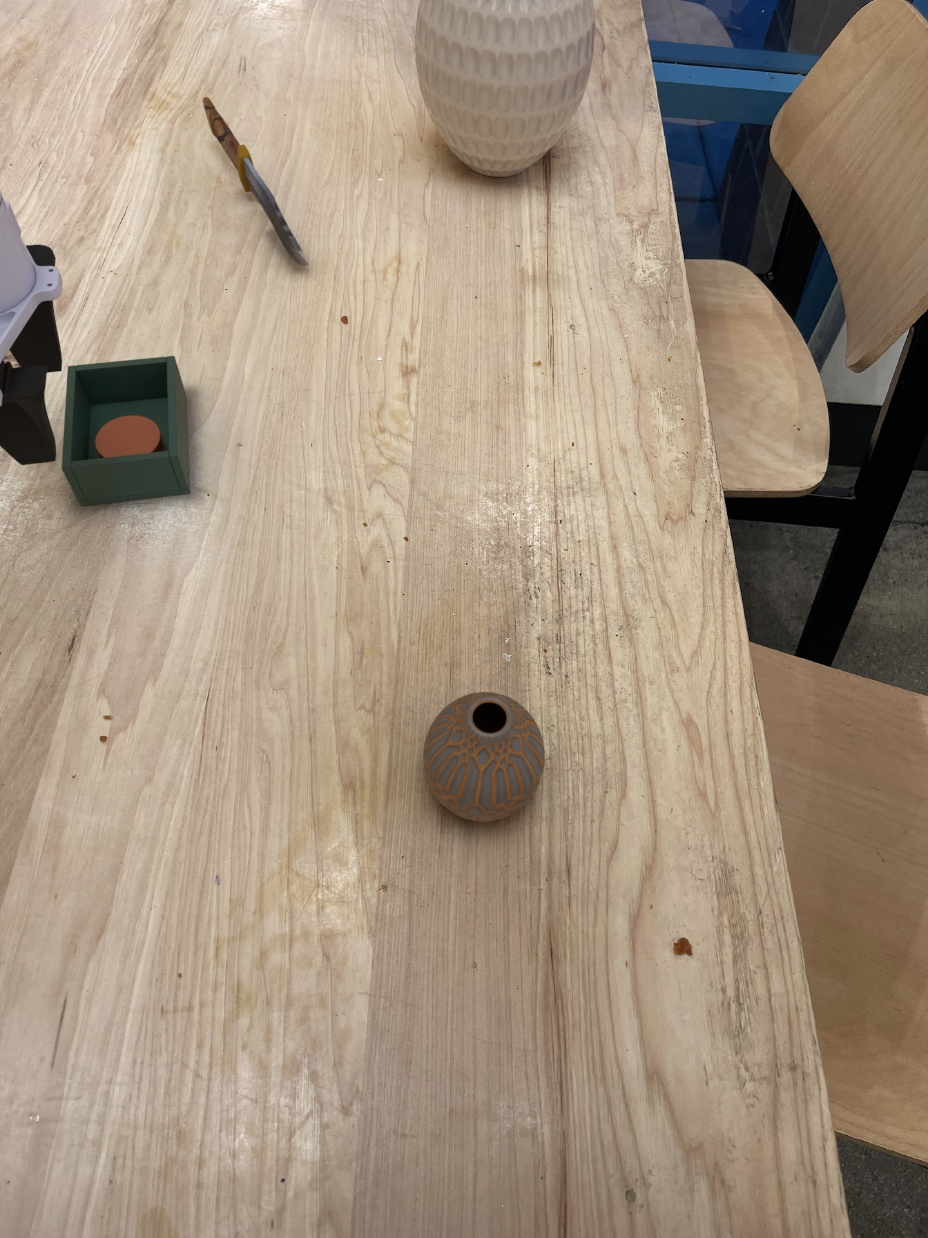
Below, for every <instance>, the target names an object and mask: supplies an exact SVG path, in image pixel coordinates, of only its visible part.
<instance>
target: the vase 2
mask: <svg viewBox="0 0 928 1238" xmlns="http://www.w3.org/2000/svg"><path fill="white" fill-rule="evenodd" d="M422 760H423V762H422V763H423V770H424V774H425V779H426V781H427V784H428V786H429V788H430V791H431V792H432V794H433V795H434V797H435V798H436V799H437V801H438V802H439V803H440V804H441V805H442V806H443V807H444V808H446V809H447V810H448V811H449V812H451V813H452V814H454V815H456V816H458V817H459V818H463V819H465V820H468V821H474V822H494V821H497V820H501V819H504V818H507V817H509V816H511V815H513V814H514V813H516V812H517V811H519V810H520V809H521V808H522V807H524V806H525V805H526V804H527V803H528V802H529V801H530V800H531V798H532V797H533V795H534V794H535V792H536V791H537V789H538V788H539V784H540V782H541V779H542V777H543V773H544V768H545V763H546V750H545V743H544V739H543V736H542V733H541V730H540V728H539V725H538V723H537V722H536V720H535V718H534V717H533V715H532V713H530V712H529V711H528V709H526V708H525V707H524V706H523V705H522V704H521V703H519V702H518V701H516V700H515V699H513V698H512V697H509V696H507V695H504V694H501V693H496V692H490V691H478V692H473V693H468V694H466V695H465V694H464V695H462V696H460V697H459V698H458V697H457V698H456V699H455V700H453V701H451V702H450V703H449V704H447V705H446V706H445V707H444V708H443V709H442V710H441V711H440V712H439V713H438V714H437V715H436V716H435V718H434V720H433V721H432V723H431V725H430V727H429V728H428V731H427V733H426V736H425V739H424V744H423V752H422Z"/></svg>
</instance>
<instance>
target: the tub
mask: <svg viewBox="0 0 928 1238" xmlns="http://www.w3.org/2000/svg"><path fill="white" fill-rule="evenodd" d="M66 373H67V374H66V388H65V389H66V391H65V404H64V405H65V406H64V422H63V437H62V438H63V440H62V455H61V456H62V457H61V471H62V472H63V474H64V477H65V479H66V480H67V482H68V485H69V486H70V488H71V490H72V493H73V494H74V497H75V498H76V501H77V502H78V504H79V506H80V507H86V506H94V505H95V506H96V505H103V504H110V503H111V504H112V503H120V502H129V501H135V500H145V499H155V498H163V497H172V496H180V495H187V494H191V480H190V479H191V478H190V458H189V457H190V453H189V452H190V451H189V427H188V426H189V425H188V408H187V407H188V405H187V403H188V402H187V393H186V390H185V387H184V383H183V380H182V376H181V372H180V369H179V366H178V363H177V359H176V356H175V355H168V356H157V357H147V358H135V359H127V360H115V361H107V362H106V361H105V362H95V363H85V364H75V365H68V366H67V372H66ZM128 415H137V416H143V417H146V418H149V419H151V420H152V421H154V422H155V423H156V424H157V426H158V427H159V429H160V431H161V434H162V437H163V440H164V443H165V446H166V449H167V451H162V452H153V453H144V454H135V455H126V456H117V457H108V458H100V457H99V454H98V452H97V450H96V447H95V438H96V435H97V433H98V431H99V430H100V429H101V428H102V427H103V426H104V425H105V424H106V423H108V422H109V421H111V420H113V419H116V418H118V417H122V416H128Z"/></svg>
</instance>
